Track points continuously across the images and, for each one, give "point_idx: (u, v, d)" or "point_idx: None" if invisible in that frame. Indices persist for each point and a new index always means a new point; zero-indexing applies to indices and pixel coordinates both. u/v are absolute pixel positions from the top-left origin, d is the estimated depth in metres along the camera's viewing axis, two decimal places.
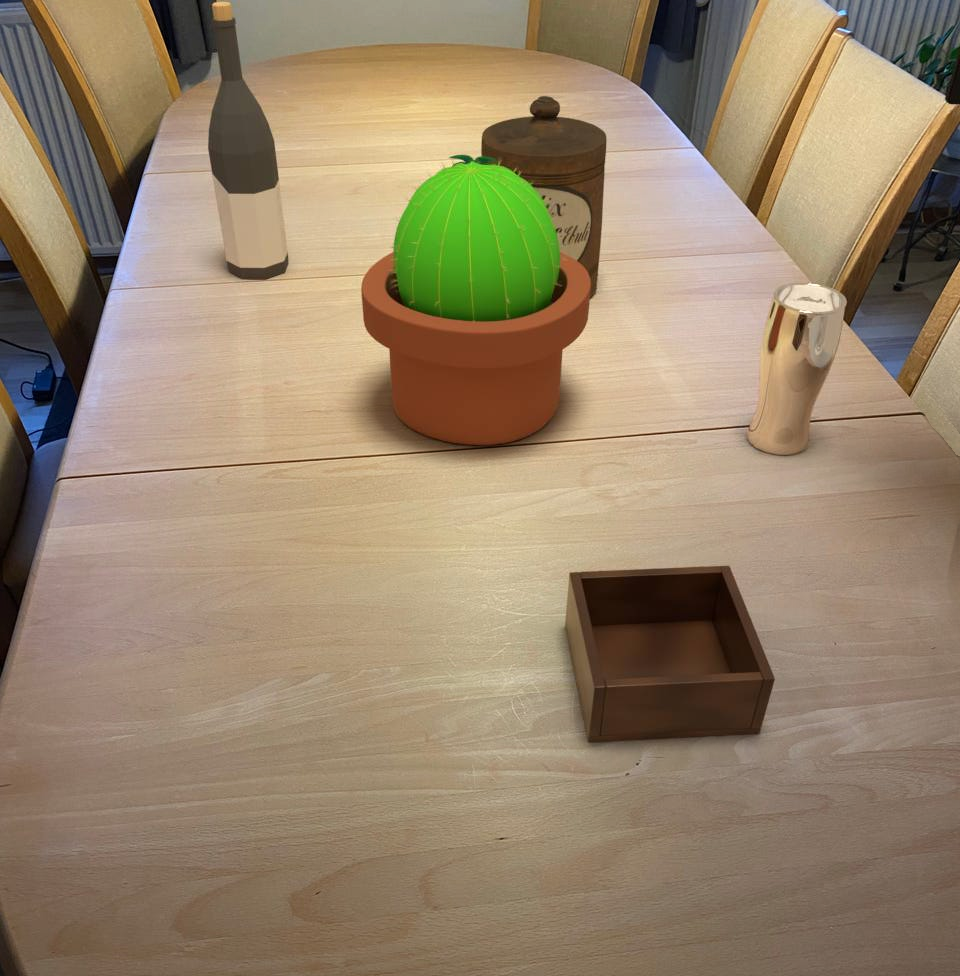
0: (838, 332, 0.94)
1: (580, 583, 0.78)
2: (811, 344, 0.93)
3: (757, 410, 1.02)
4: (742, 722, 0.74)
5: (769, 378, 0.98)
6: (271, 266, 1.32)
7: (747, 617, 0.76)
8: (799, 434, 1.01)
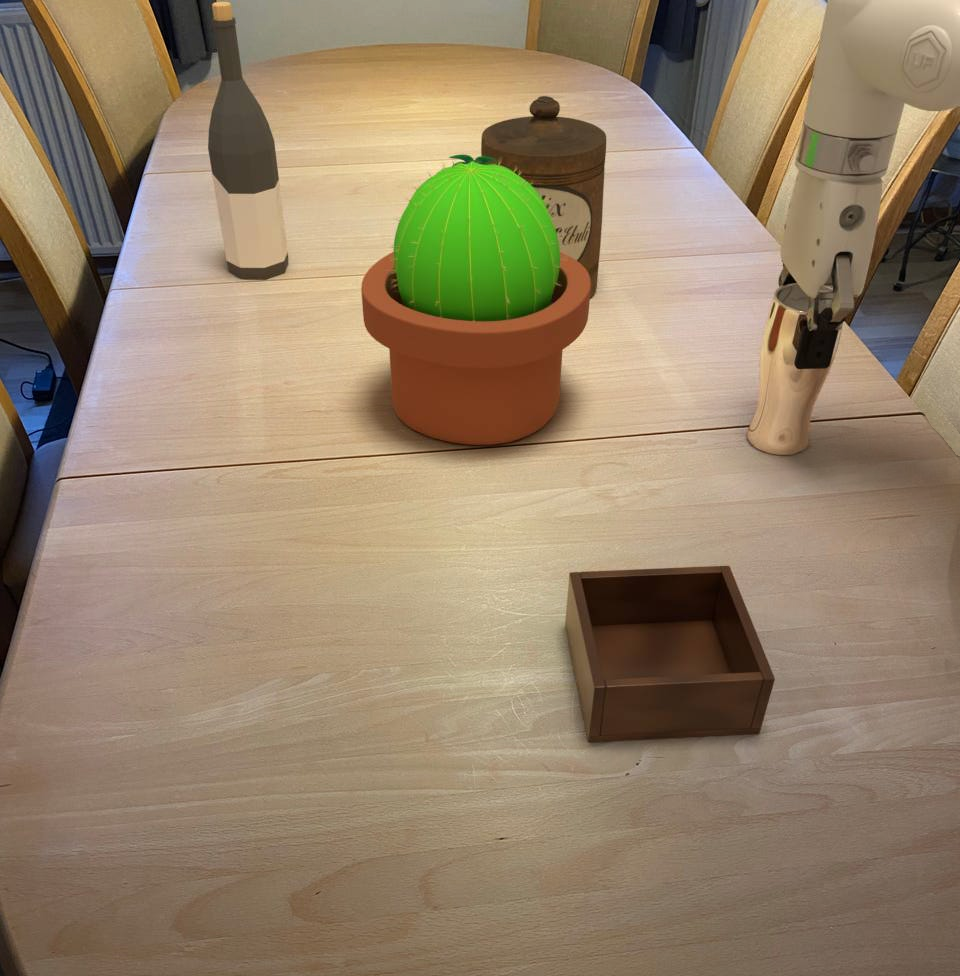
0: (838, 332, 0.94)
1: (580, 583, 0.78)
2: None
3: (757, 410, 1.02)
4: (742, 722, 0.74)
5: (769, 378, 0.98)
6: (271, 266, 1.32)
7: (747, 617, 0.76)
8: (799, 434, 1.01)
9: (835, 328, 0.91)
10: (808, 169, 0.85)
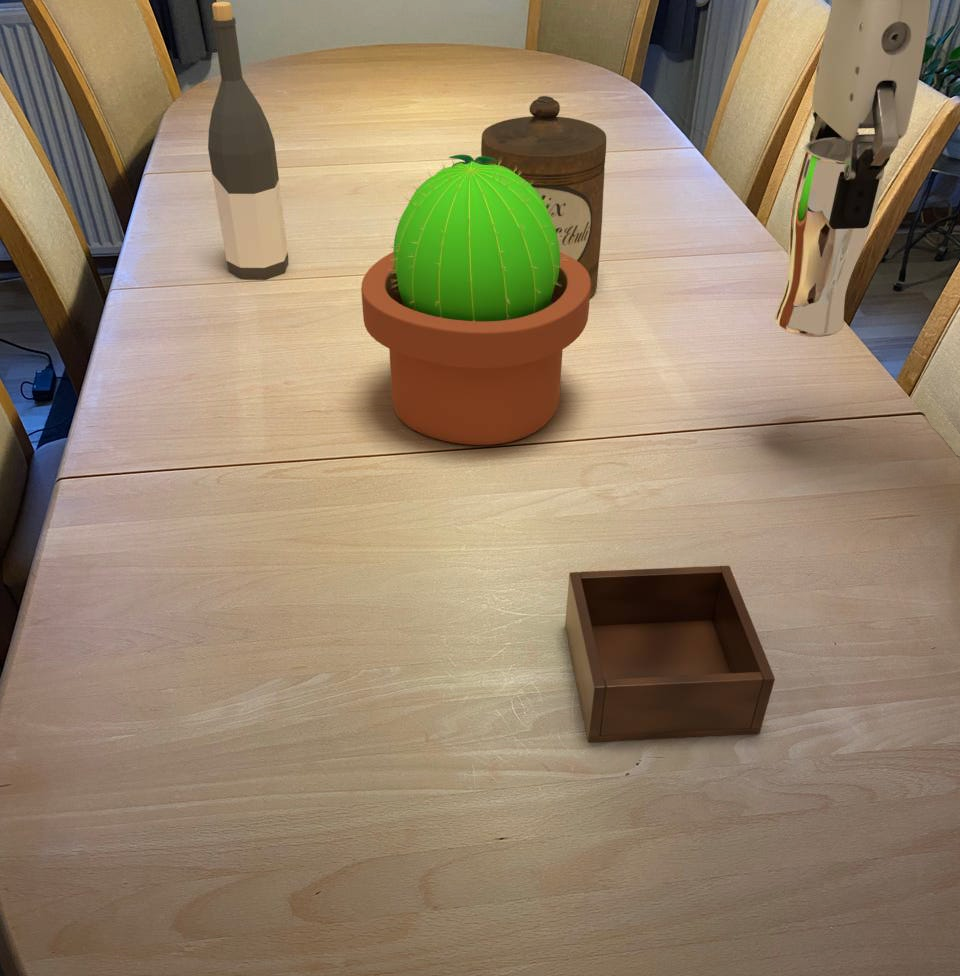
0: (878, 187, 0.84)
1: (580, 583, 0.78)
2: None
3: (786, 287, 0.92)
4: (742, 722, 0.74)
5: (800, 245, 0.88)
6: (271, 266, 1.32)
7: (747, 617, 0.76)
8: (833, 312, 0.91)
9: (876, 176, 0.81)
10: None
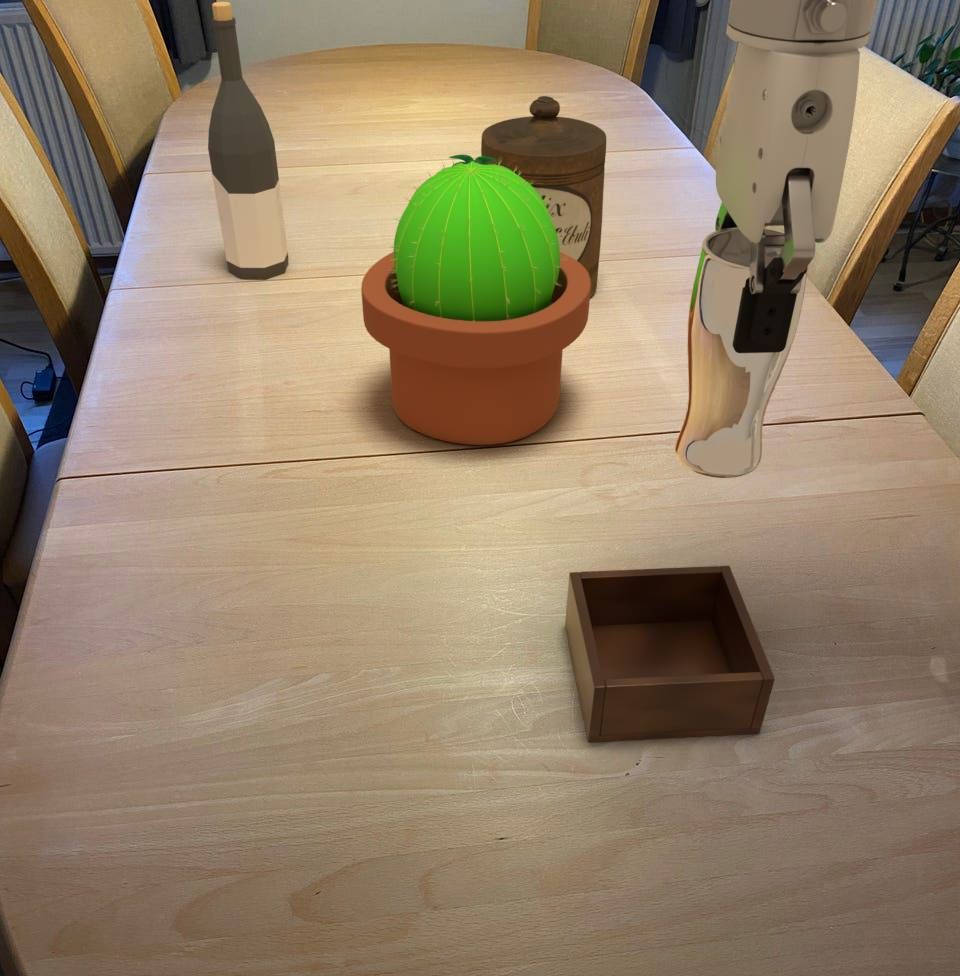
0: (798, 299, 0.63)
1: (580, 583, 0.78)
2: None
3: (686, 413, 0.71)
4: (742, 722, 0.74)
5: (699, 367, 0.67)
6: (271, 266, 1.32)
7: (747, 617, 0.76)
8: (746, 448, 0.70)
9: (790, 290, 0.60)
10: (743, 35, 0.54)
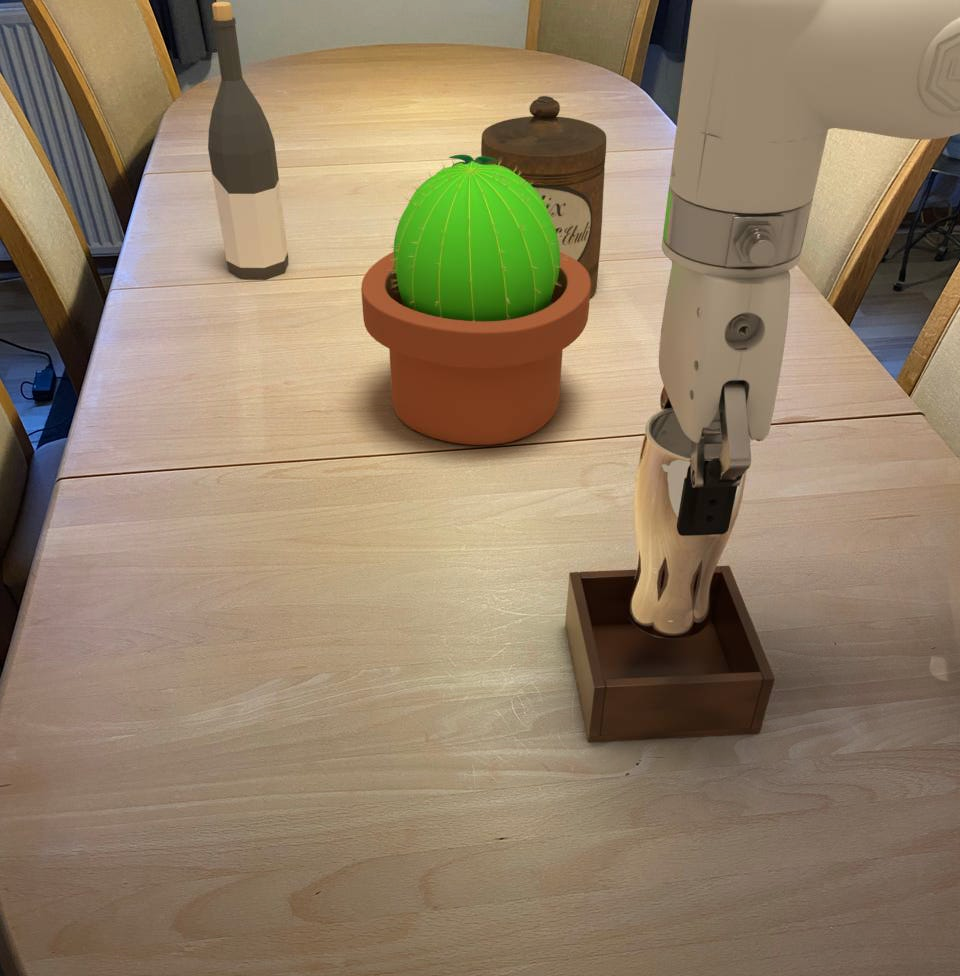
0: None
1: (580, 583, 0.78)
2: None
3: (636, 576, 0.72)
4: (742, 722, 0.74)
5: (645, 541, 0.68)
6: (271, 266, 1.32)
7: (747, 617, 0.76)
8: (694, 612, 0.71)
9: (730, 485, 0.61)
10: (677, 256, 0.55)
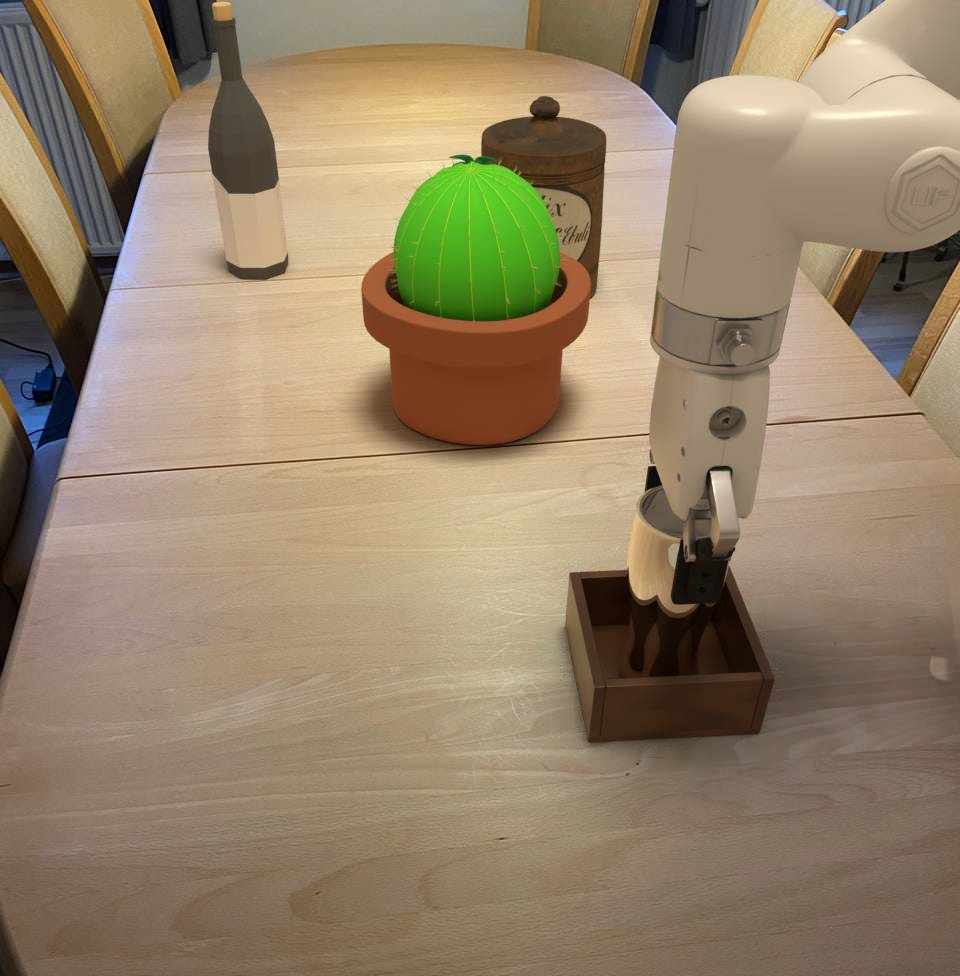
0: None
1: (580, 583, 0.78)
2: None
3: (628, 639, 0.76)
4: (742, 722, 0.74)
5: (637, 609, 0.72)
6: (271, 266, 1.32)
7: (747, 617, 0.76)
8: (683, 674, 0.75)
9: (722, 558, 0.63)
10: (664, 352, 0.59)
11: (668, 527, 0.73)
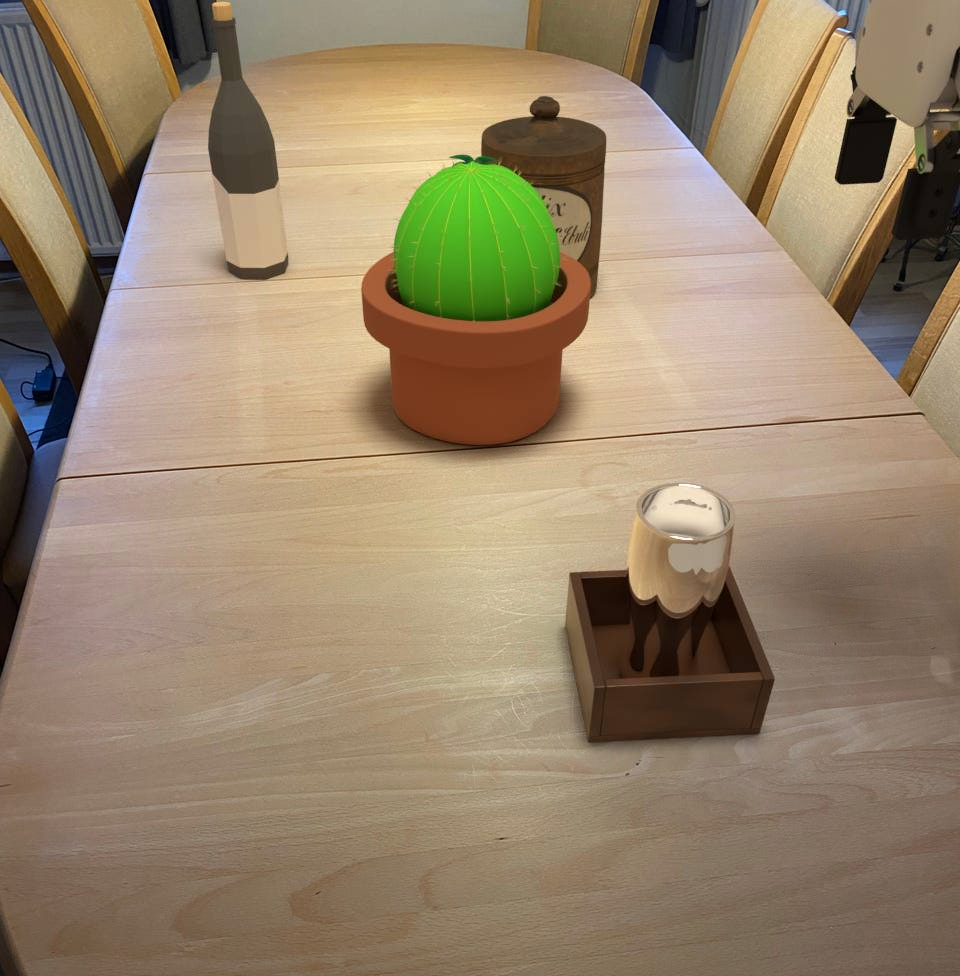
0: (725, 558, 0.68)
1: (580, 583, 0.78)
2: (686, 576, 0.68)
3: (628, 639, 0.76)
4: (742, 722, 0.74)
5: (637, 609, 0.72)
6: (271, 266, 1.32)
7: (747, 617, 0.76)
8: (683, 674, 0.75)
9: None
10: None
11: (668, 527, 0.73)
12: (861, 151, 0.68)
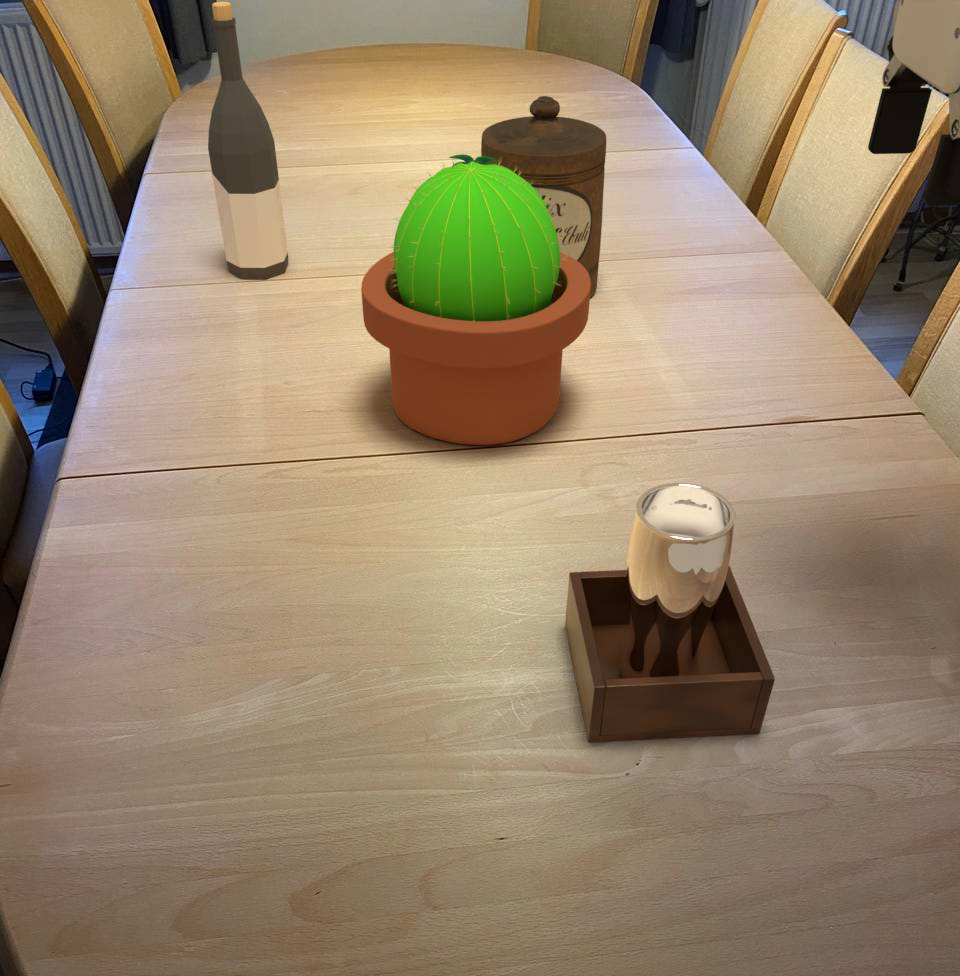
0: (725, 558, 0.68)
1: (580, 583, 0.78)
2: (686, 576, 0.68)
3: (628, 639, 0.76)
4: (742, 722, 0.74)
5: (637, 609, 0.72)
6: (271, 266, 1.32)
7: (747, 617, 0.76)
8: (683, 674, 0.75)
9: None
10: None
11: (668, 527, 0.73)
12: (895, 121, 0.69)
